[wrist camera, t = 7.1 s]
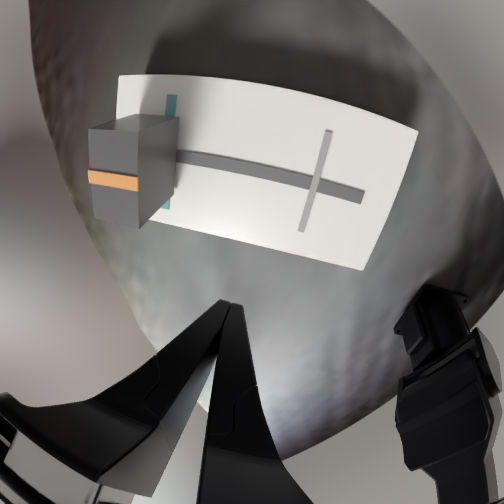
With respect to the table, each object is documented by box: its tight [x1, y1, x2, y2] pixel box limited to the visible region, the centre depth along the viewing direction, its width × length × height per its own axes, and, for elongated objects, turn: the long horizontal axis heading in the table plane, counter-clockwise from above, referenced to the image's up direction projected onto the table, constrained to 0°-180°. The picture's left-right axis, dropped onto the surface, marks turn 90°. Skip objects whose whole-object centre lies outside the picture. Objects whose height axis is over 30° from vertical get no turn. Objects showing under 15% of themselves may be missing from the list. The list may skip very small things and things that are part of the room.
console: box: [116, 74, 418, 271], centre depth 17 cm, size 18×10×3 cm, turn 81°
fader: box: [88, 114, 180, 229], centre depth 14 cm, size 3×5×5 cm, turn 170°
